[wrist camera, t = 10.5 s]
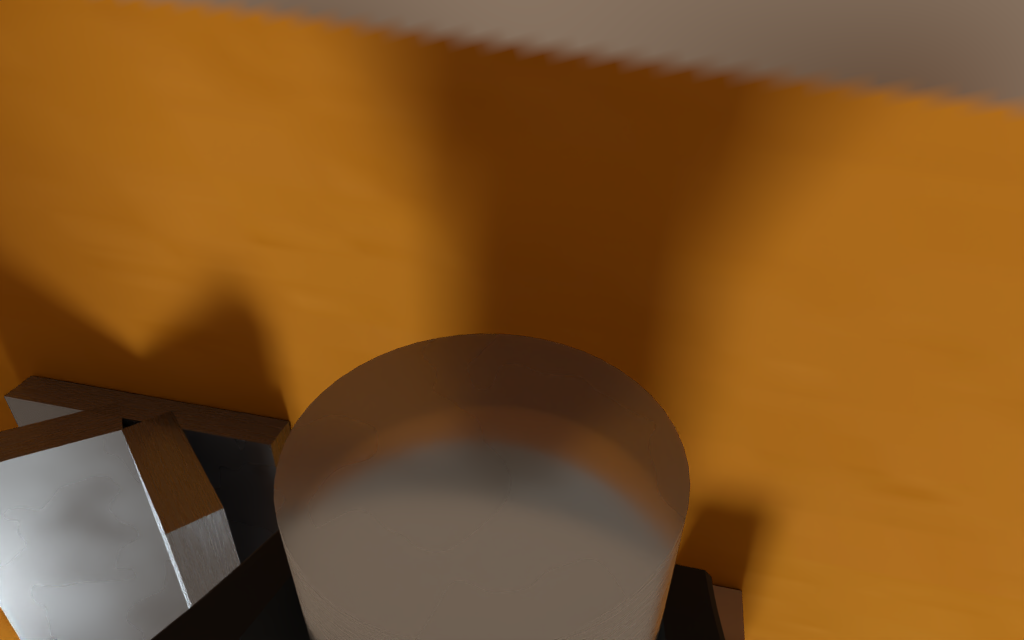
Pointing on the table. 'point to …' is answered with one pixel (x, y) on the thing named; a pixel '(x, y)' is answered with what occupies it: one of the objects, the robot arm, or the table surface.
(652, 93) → the table surface
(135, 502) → the v block
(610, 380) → the axle
